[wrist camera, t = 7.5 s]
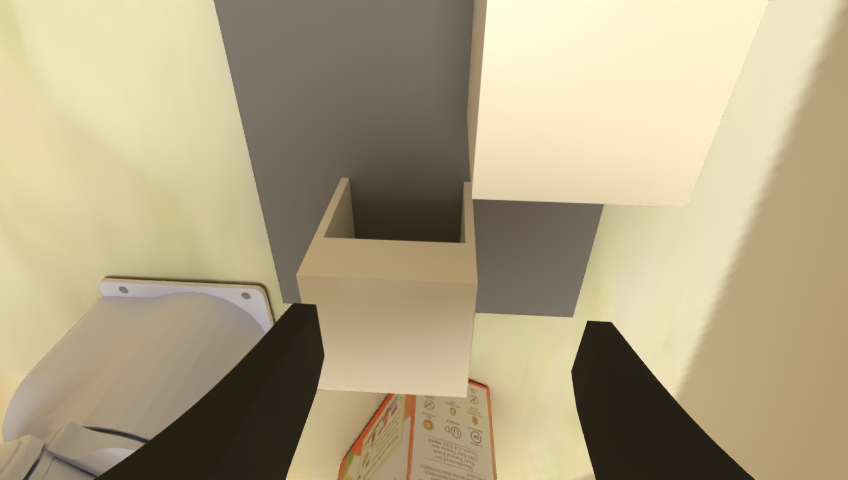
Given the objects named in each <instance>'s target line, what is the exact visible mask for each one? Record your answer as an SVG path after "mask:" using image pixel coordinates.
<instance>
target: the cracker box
mask: <svg viewBox="0 0 848 480" xmlns="http://www.w3.org/2000/svg"><path fill="white" fill-rule="evenodd" d="M337 480H497V474H496V463H495V450H494V438H493V430H492V416H491V405H490V394H489V388H488V387H485V386H482V385H480V384H477V383H473V382H471V381H468V387H467V397H466V398H465V397H447V396H429V395H411V394H394V393H390V394H389V396H388V397H387V399H386V400H385V401H384V403H383V404H382V406H381V407H380V409H379V410H378V412H377V413H376V414H375V416H374V417H373V419H372V420H371V422H370V423H369V424H368V426H367V427H366V428H365V430H364V431H363V433H362V434H361V436H360V437H359V439H358V440H357V441H356V443H355V444H354V446H353V447H352V449H351V450H350V451H349V453H348V454H347V456H346V457H345V459H344V460H343V461H342V463H341V466H340V470H339V475H338V479H337Z"/></svg>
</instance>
